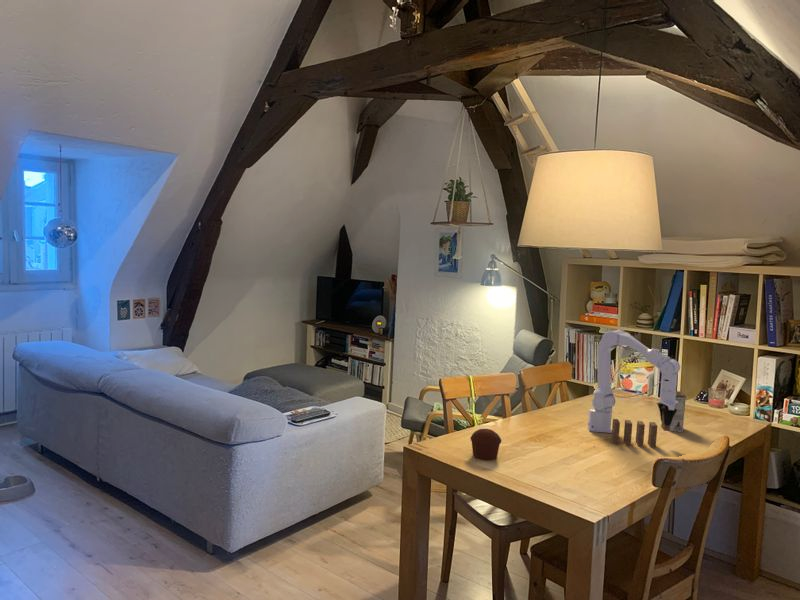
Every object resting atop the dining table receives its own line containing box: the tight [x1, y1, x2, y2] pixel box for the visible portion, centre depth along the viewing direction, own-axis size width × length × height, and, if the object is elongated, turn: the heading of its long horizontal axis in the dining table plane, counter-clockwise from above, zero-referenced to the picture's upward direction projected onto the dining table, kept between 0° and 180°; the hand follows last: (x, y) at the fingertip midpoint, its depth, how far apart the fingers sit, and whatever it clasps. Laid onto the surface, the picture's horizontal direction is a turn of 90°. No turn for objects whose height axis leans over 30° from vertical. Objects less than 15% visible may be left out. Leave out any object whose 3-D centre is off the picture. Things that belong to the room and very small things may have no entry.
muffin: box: [470, 428, 502, 461], centre depth 235 cm, size 12×11×10 cm
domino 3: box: [635, 420, 646, 447], centre depth 256 cm, size 2×5×9 cm, turn 170°
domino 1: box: [610, 418, 621, 445], centre depth 258 cm, size 2×5×9 cm, turn 170°
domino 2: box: [622, 419, 633, 446], centre depth 257 cm, size 2×5×9 cm, turn 170°
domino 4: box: [647, 421, 658, 448], centre depth 255 cm, size 2×5×9 cm, turn 170°
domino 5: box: [660, 405, 671, 432], centre depth 255 cm, size 2×5×9 cm, turn 170°
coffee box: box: [669, 390, 687, 433], centre depth 280 cm, size 9×6×16 cm
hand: (665, 423), depth 255 cm, fingers closed on domino 5, 5 cm apart
